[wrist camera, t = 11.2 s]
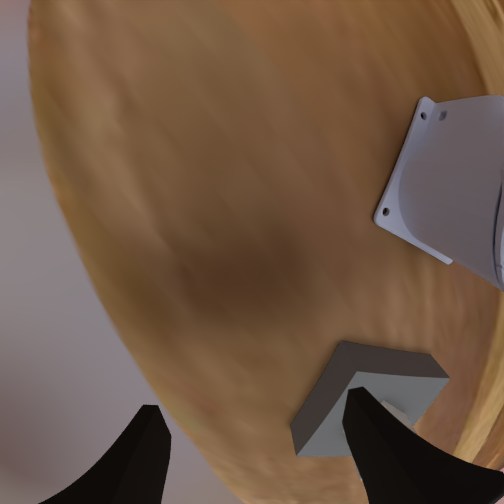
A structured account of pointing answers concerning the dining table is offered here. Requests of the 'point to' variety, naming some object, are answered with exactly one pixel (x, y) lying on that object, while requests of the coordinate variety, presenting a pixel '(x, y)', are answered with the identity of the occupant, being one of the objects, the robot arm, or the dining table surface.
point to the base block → (375, 381)
